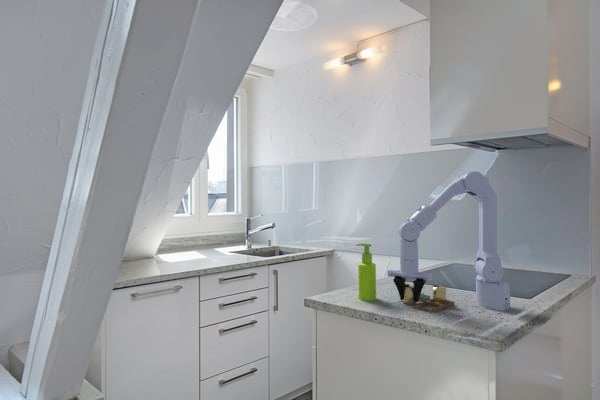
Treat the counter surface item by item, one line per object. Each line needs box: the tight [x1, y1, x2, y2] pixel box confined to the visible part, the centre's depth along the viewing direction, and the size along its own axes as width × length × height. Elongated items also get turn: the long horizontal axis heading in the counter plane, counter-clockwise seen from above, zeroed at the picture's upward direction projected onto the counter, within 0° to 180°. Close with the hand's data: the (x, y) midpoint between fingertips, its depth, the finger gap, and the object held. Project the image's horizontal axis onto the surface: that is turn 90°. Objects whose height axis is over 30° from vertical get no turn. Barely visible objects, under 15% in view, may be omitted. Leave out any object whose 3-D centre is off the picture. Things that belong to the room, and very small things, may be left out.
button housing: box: [419, 294, 431, 303], centre depth 134 cm, size 5×5×2 cm
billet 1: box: [402, 283, 417, 306], centre depth 128 cm, size 4×4×7 cm
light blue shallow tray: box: [393, 300, 421, 308], centre depth 128 cm, size 7×8×1 cm
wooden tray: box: [413, 298, 455, 314], centre depth 124 cm, size 8×13×2 cm, turn 131°
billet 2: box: [432, 283, 447, 304], centre depth 126 cm, size 4×4×7 cm
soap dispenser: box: [355, 243, 377, 302], centre depth 135 cm, size 6×7×20 cm
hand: (409, 300), depth 128 cm, fingers open, 4 cm apart
